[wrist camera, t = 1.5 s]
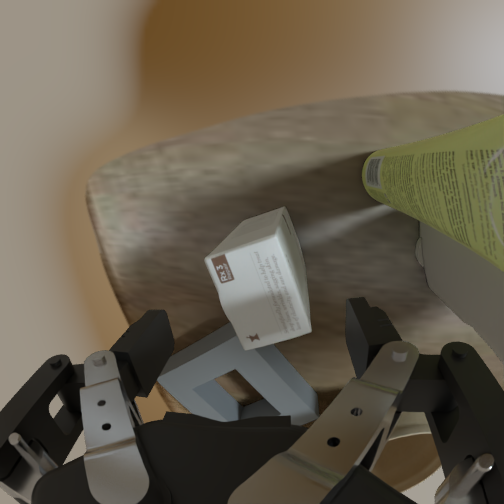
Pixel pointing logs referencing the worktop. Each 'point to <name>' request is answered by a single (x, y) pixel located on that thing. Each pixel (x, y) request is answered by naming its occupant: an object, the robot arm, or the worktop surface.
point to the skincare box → (262, 280)
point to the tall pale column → (464, 284)
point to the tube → (448, 185)
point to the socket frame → (250, 367)
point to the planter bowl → (408, 453)
